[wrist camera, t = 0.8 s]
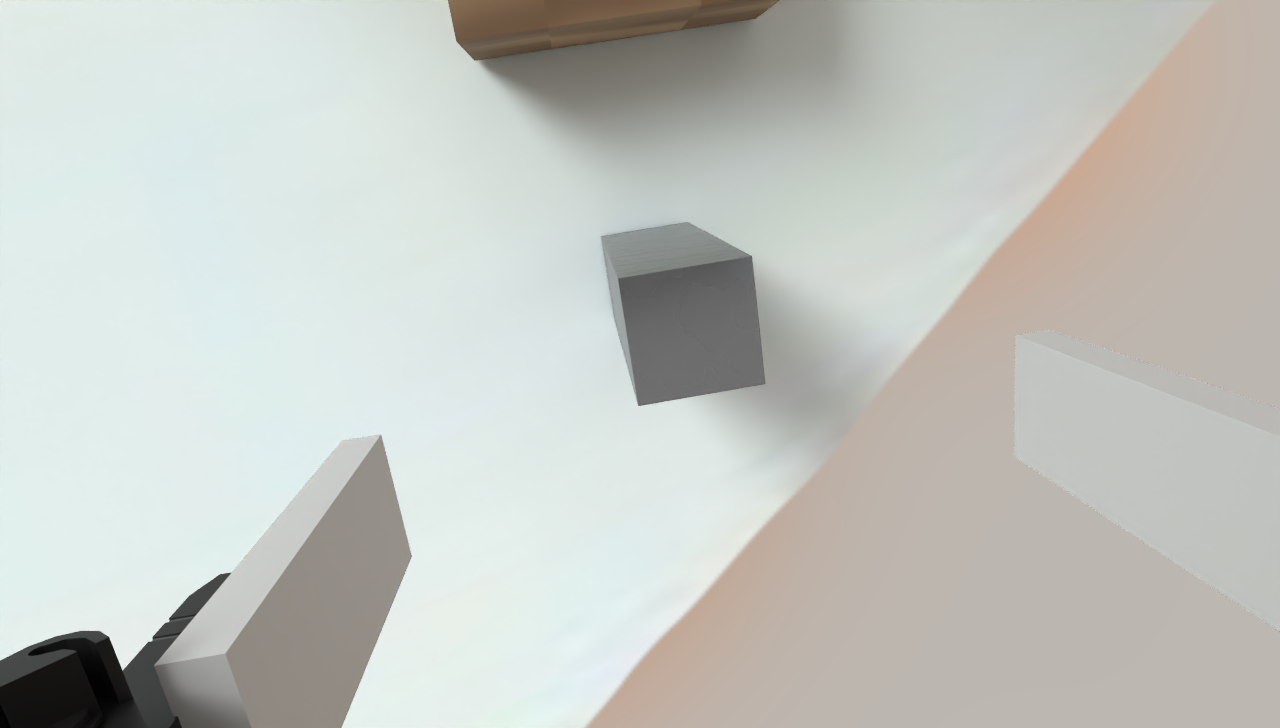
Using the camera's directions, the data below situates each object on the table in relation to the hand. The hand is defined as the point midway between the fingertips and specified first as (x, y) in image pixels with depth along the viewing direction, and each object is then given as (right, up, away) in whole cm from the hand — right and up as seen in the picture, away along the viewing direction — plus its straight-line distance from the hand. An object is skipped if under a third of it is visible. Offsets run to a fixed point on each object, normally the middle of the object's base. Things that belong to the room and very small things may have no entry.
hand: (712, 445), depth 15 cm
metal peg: (-1, +6, +18) cm, 19 cm away
